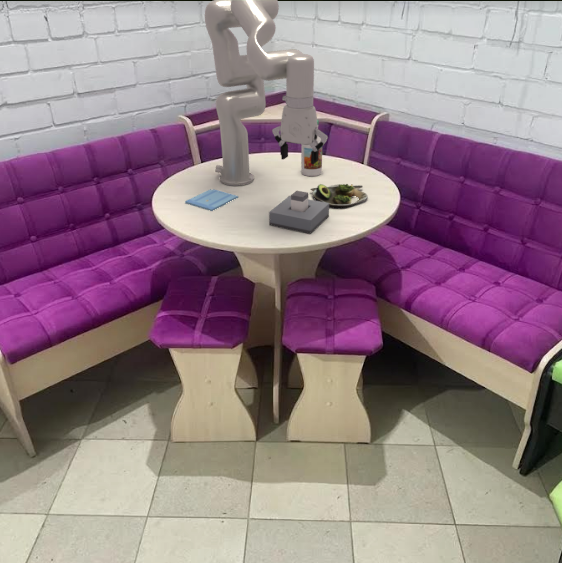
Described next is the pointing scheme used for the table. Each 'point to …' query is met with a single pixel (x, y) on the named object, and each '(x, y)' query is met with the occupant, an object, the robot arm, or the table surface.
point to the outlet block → (299, 216)
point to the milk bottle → (306, 164)
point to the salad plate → (338, 195)
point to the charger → (299, 201)
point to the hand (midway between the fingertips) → (299, 160)
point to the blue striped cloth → (211, 199)
